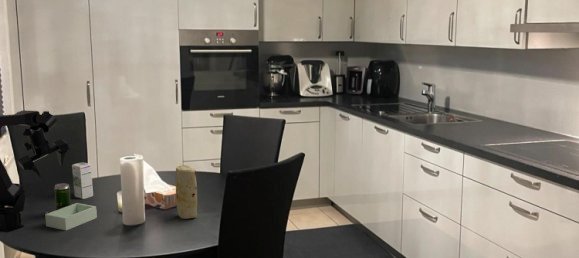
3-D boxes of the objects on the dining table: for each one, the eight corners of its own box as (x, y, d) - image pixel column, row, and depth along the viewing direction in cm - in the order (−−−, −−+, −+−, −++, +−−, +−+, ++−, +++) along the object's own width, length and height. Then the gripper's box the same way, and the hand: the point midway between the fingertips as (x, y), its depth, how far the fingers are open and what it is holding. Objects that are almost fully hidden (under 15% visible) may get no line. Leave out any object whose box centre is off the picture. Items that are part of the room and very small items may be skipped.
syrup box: (93, 196, 239) (91, 163, 237) (82, 199, 234) (80, 166, 232) (85, 194, 242) (83, 161, 240) (73, 197, 237) (71, 164, 235)
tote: (66, 230, 198) (65, 218, 198) (46, 226, 203) (45, 214, 202) (96, 217, 212) (96, 206, 211) (77, 214, 216) (76, 202, 215)
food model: (201, 216, 214) (200, 166, 210) (189, 221, 208) (188, 169, 205) (183, 212, 219) (181, 162, 215) (170, 216, 213) (169, 166, 210)
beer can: (73, 212, 218) (71, 183, 216) (69, 217, 213) (66, 186, 210) (58, 212, 217) (56, 183, 215) (54, 217, 212) (52, 187, 210)
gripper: (51, 122, 224) (63, 153, 233) (6, 142, 214) (20, 174, 222) (64, 131, 217) (75, 163, 226) (17, 153, 207) (31, 185, 215)
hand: (50, 171), depth 223 cm, fingers open, 9 cm apart
